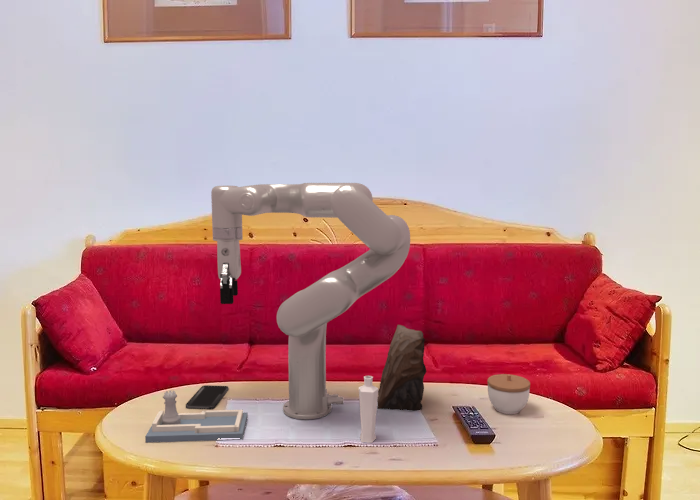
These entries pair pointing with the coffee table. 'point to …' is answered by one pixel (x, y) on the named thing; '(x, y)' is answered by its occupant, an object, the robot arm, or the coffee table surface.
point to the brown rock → (403, 372)
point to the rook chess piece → (170, 409)
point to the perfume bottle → (368, 409)
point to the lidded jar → (508, 392)
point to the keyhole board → (199, 426)
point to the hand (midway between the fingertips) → (229, 299)
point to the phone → (207, 397)
